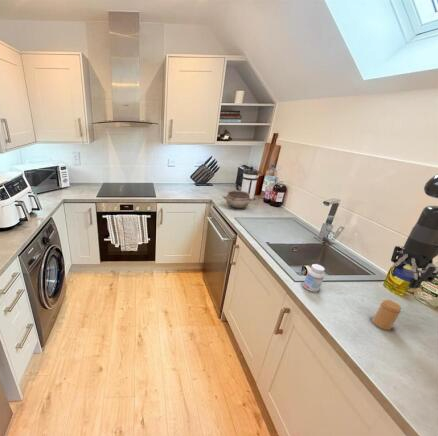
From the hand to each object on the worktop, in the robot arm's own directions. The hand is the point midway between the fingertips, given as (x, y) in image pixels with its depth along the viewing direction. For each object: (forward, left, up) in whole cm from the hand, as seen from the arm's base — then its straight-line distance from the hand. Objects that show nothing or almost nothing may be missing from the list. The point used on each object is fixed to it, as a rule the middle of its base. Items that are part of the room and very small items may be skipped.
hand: (403, 281), depth 81 cm
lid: (0, 0, +3) cm, 3 cm away
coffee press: (+16, -142, -19) cm, 144 cm away
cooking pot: (+29, -117, -19) cm, 122 cm away
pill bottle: (+17, -17, -19) cm, 30 cm away
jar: (+1, +2, -18) cm, 19 cm away
